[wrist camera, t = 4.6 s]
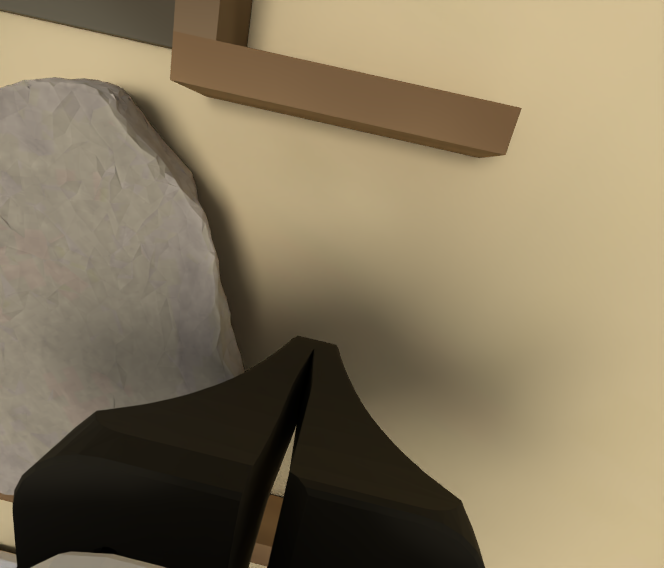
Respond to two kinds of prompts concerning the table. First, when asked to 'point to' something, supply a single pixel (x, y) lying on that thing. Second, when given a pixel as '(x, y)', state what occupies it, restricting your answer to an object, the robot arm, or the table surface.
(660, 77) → the table surface
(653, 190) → the table surface
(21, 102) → the stone block
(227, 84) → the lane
